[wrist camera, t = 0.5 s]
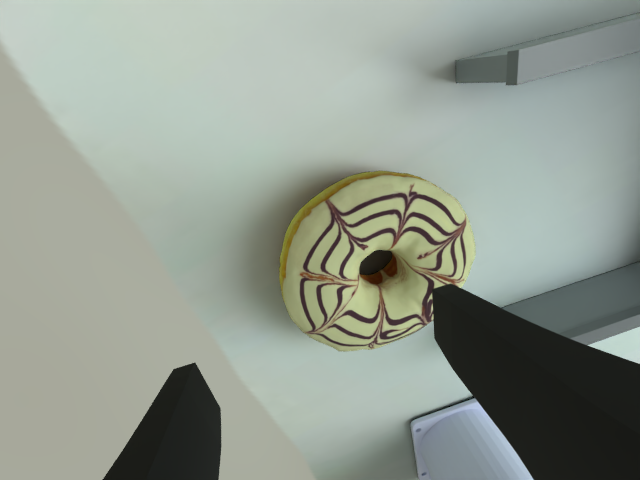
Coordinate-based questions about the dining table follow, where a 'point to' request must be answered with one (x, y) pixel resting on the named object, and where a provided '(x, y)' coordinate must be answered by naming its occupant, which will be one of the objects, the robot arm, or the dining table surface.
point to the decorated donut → (357, 243)
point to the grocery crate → (606, 289)
